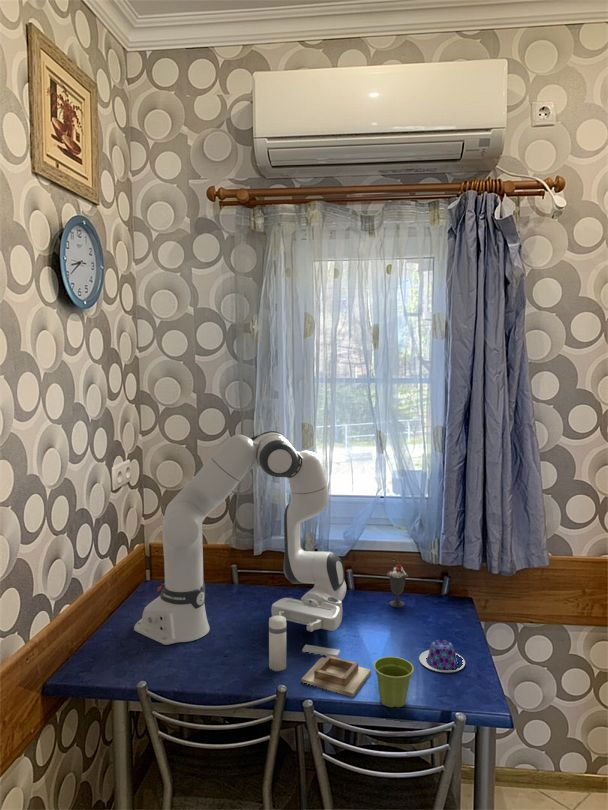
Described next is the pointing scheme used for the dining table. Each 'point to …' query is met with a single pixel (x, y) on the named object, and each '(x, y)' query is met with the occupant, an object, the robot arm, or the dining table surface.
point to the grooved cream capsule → (277, 643)
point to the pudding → (441, 657)
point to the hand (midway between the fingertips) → (293, 625)
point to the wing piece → (321, 650)
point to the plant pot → (393, 680)
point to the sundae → (397, 584)
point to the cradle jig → (337, 675)
